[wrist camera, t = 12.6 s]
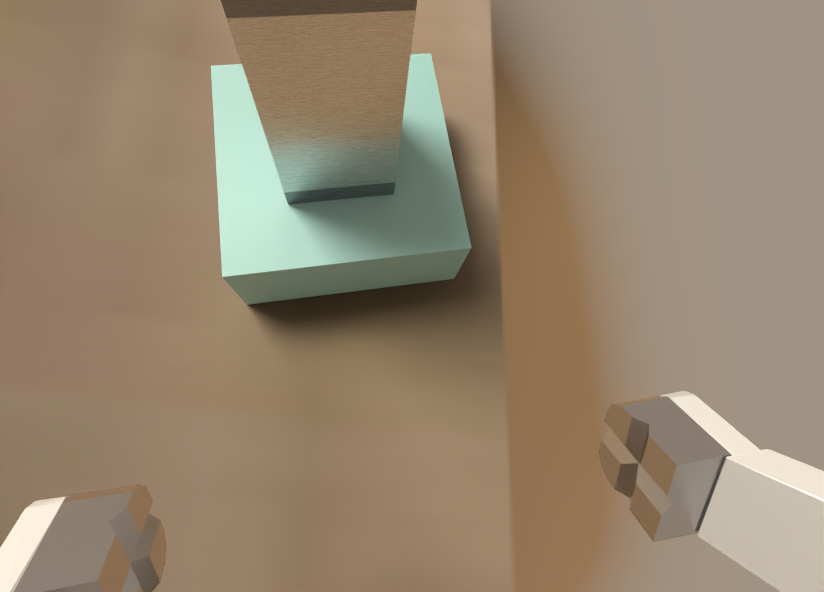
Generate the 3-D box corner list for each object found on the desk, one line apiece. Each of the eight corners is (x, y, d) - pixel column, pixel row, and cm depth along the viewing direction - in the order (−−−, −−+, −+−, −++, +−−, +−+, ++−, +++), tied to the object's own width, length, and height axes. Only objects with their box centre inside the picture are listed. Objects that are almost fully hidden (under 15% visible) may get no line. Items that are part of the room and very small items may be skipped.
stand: (246, 304, 22) (222, 276, 18) (234, 123, 25) (210, 65, 21) (454, 278, 23) (471, 247, 20) (421, 109, 26) (430, 53, 22)
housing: (288, 204, 19) (213, -23, 10) (279, 114, 20) (204, -167, 11) (393, 194, 20) (420, -29, 10) (379, 107, 21) (390, -166, 12)
